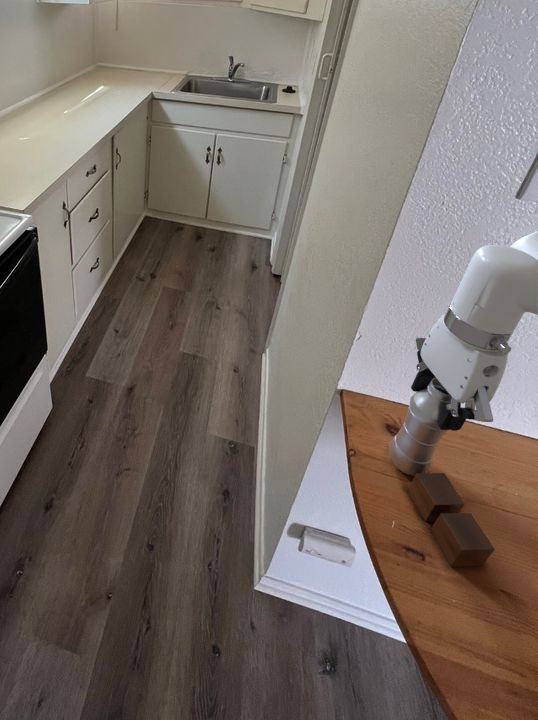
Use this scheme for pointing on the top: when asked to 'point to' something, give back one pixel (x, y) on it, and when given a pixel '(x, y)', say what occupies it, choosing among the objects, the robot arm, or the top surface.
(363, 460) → the top surface
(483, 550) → the walnut block
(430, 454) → the silver bottle
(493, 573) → the top surface
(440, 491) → the walnut block
